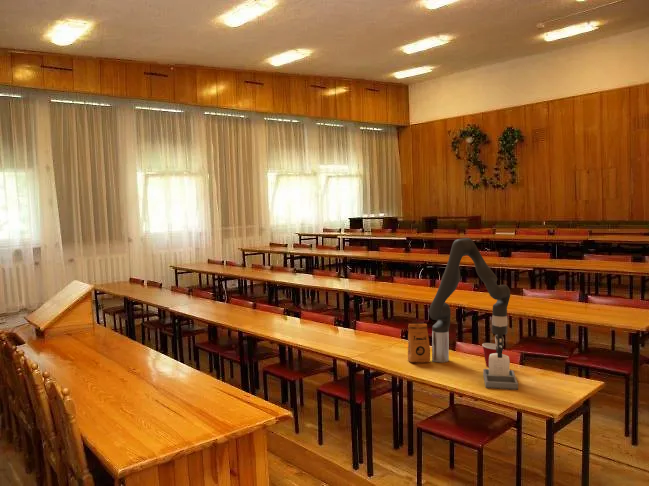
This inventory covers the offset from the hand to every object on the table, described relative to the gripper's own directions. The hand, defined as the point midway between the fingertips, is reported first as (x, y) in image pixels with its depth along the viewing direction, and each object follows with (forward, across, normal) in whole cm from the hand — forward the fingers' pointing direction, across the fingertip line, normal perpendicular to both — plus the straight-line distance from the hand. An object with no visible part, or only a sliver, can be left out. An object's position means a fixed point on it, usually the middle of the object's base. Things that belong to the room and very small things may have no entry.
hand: (499, 355), depth 280 cm
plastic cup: (+13, -20, -2) cm, 24 cm away
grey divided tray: (+12, +5, 0) cm, 13 cm away
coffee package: (+13, -23, -42) cm, 50 cm away
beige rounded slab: (+12, 0, 0) cm, 12 cm away
